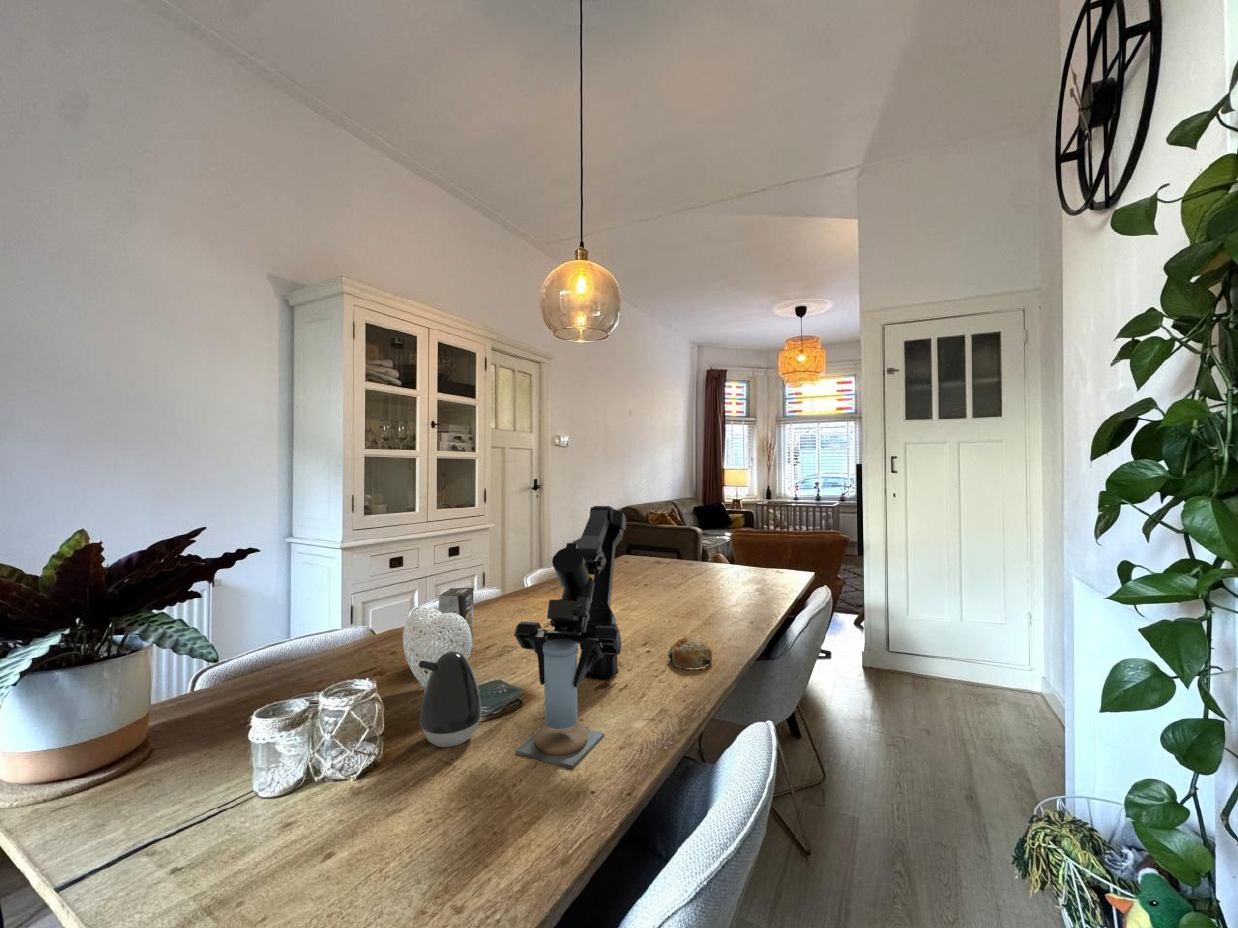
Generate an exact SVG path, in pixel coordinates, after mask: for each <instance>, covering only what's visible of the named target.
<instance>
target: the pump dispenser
mask: <svg viewBox="0 0 1238 928" xmlns="http://www.w3.org/2000/svg"><path fill="white" fill-rule="evenodd" d="M419 667H420V668H421V669H423V668H425V669H428V670H430V671H431V674H430V676H429V678H428V681H427V684H426V688H425V687H424V692H423V697H422V702H421V709H420V718H419V719H420V728H421V729H422V730H423V731H422V732H423V734H424V736H425V738H426V739H427V740H428V742H429V743H431V744H432V745H434V746H437V747H439V748H440V747H441V748H451V747H457V746H459V745H461V744H463V743H465V742H467V741H468V740H469V739H470V738H471V737H472V736H473V735H474V733H475V732H476V730H477V728H478V726H479V723H480V720H481V718H482V714H483V713H482V702H481V694H480V690H479V684H478V681H477V679H476V676H475V673H474V670H473V669H472V666H471V665H470V662H469V660H468V661H467V659H466V658H465V656H464V655H463V654H461V653H459V652H455V651H451V652H447V653H445V654H443V655H442V656H440V658H439V659H438V660H437V662H436V663H434V662H428V661H423V660H421V661H420V662H419Z"/></svg>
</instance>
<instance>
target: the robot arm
mask: <svg viewBox="0 0 1238 928" xmlns="http://www.w3.org/2000/svg"><path fill="white" fill-rule="evenodd" d="M626 528H627V517H626V515H625V513H624V512H623V511H620V510H617V509H614V508H613V506H610V505H594V506H591V507H590V511H589V517H588V520H587V523H586V524H585V527H584V530H583V532H582V534H581V536H580V538H578V539H576V540H574V541H572V542H567V543H566V546H565V547H563V548H561V549H560V550H558V551H557V552H556V553H555V554H554V555H553V556H552V561H551V562H552V567H553V569H554V572H555V575H556V577H557V579H558V582H559V584H560V586H561V587H563V591H562V595H561V598H559V599H549V600H548V606H547V613H546V614H547V616H546V619H547V620H550V626H551V627H552V628H553V630H551V629H550V630H549V629H548V630H547V629H545V628H542V626H541V624H540V622H537V621H535V622H534V621H520V622H519V623H518V624H517V625H516V626H515V629H514V633H513V636H514V637H515V639H516V640H517V642H518V643H519V646H520V647H521V648H522V649H525V650H533V651H534V653H535V654H536V655H537V661H538V662H537V665H538V676H539V677H538V678H539V682H540V685H541V686H544V653H543V644H544V643H545V642H547V641H550V640H554V639H571V640H574V641H576V642H577V643H578V644H579V648H580V650H581V651H580V656H579V659H578V662H577V670H576V674H575V680H574V687H576V688H577V689H578V687H579V685H580V684H581V682H583V679H584V678H589V679H595V680H599V681H604V682H607V681H609V680H611V678H612V677H614V676H615V675H616V674H617V673H618V672H620V671H619V670H620V669H619V668H618V655H620V654H621V649H622V636H621V631H620V629H619V626H618V623H616V622H617V619H616V615H615V614H614V612H613V610H612V608H611V601H612V592H613V590H612V589H613V579H614V578H613V577H614V567H615V558H616V557H615V554H616V548H617V546H618V545H619V544H620V543H621V542H622V540H623V536H624V531H625V530H627V529H626ZM591 576H593V578H592V577H591Z"/></svg>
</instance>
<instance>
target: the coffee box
mask: <svg viewBox="0 0 1238 928" xmlns="http://www.w3.org/2000/svg"><path fill="white" fill-rule="evenodd" d="M438 611H439V612H441V613H442V614H444V613H455V614H458V615H460V616H461V617H463V618H464V619H465V620H466V622H467V623H468V625H469V628H470V630H471V635H472V646H471V651H472V650H473V649H474V642H475V641H474V640H475V639H474V627H475V626H474V587H455V588H454V587H450V588H449V589H448V590H446V591H444V592H443V593H441V594H440V595H438ZM454 617H455V616H454ZM456 620H457V619H456ZM442 623H443V622H442ZM451 624H452V623H451ZM454 626H455V625H454ZM462 627H463V626H462ZM438 628H439V629H440V627H438ZM442 629H443V630H445V628H444V627H442ZM454 629H455V628H454ZM447 631H448V630H447ZM451 631H452V632H453V630H452V629H451ZM459 631H461V629H460V628H459ZM448 633H449V631H448ZM440 634H441V631H440ZM456 634H457V633H456ZM452 636H453V635H452ZM457 637H458V638H459V635H457ZM453 638H455V636H454V637H453ZM440 639H441V638H439V640H440ZM447 640H448V639H447ZM444 641H445V637H444ZM450 643H451V644H452V643H453V641H452V640H450ZM456 644H457V643H456V641H455V645H456ZM463 646H464V644H463ZM457 650H458V649H457Z"/></svg>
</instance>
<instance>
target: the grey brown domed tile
mask: <svg viewBox="0 0 1238 928" xmlns="http://www.w3.org/2000/svg"><path fill="white" fill-rule="evenodd" d="M604 737H605V732H601V731H598V730H594V729H589V728H586V727H585V726H584V725H583V724H580V723H578V722H577V723H576V724H575V725H573V726H571V727H568V728H564V729H554V728H550V727H548V726H547V725H546V724H545V725H543V726H540V728H538V729H537V730H536V732H535V733H534V734H533V735H532V736H531V737H530V738H528V739H526V740H525V741H524V742H523V743H522V744H521V745H519V746H518V747H517V748H516V749H515V754H517V755H521V756H524V757H527V758H532V759H535V760H539V761H542V762H546V763H549V764H553V765H556V766H557V765H558V766H559V767H560V766H561V767H563V768H568V769H571V770H574V769H575V767H576V766H578V764H579V763H581V761H582V760H583V759H584V758H585V757H586V756H587V755H588V754H589V752H591V750H592V749H594V747H595V746H596V745H597V744H598V743H599V742H600V741H601V740H602V739H603V738H604Z"/></svg>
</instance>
